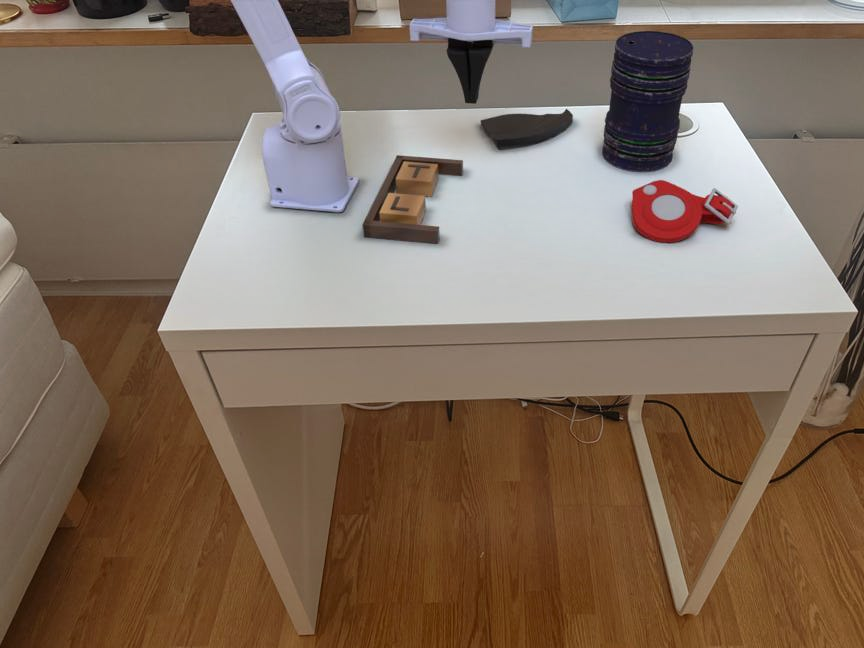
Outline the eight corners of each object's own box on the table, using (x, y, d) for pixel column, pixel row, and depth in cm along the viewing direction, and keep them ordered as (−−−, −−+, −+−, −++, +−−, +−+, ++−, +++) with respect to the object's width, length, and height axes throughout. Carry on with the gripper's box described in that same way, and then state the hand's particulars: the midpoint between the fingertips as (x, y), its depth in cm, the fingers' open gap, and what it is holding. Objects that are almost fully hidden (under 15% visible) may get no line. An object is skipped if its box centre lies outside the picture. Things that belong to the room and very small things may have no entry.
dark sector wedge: (585, 137, 106) (586, 127, 105) (495, 151, 103) (495, 140, 102) (563, 113, 112) (564, 102, 110) (478, 125, 109) (478, 114, 107)
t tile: (396, 194, 95) (395, 178, 93) (404, 176, 98) (403, 160, 96) (431, 197, 94) (430, 180, 93) (438, 178, 97) (438, 163, 96)
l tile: (380, 228, 89) (378, 211, 87) (390, 208, 92) (388, 191, 91) (417, 231, 88) (416, 215, 87) (426, 211, 92) (425, 194, 90)
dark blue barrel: (675, 142, 105) (696, 34, 94) (671, 176, 98) (693, 63, 87) (605, 134, 106) (618, 27, 96) (596, 167, 100) (609, 56, 89)
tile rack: (363, 237, 88) (362, 224, 86) (397, 167, 100) (396, 154, 98) (438, 244, 86) (437, 231, 85) (463, 172, 99) (463, 160, 97)
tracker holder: (657, 245, 84) (613, 187, 89) (653, 268, 88) (612, 211, 93) (749, 203, 85) (701, 148, 90) (741, 227, 89) (696, 173, 94)
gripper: (537, -24, 86) (532, 90, 95) (416, -29, 88) (422, 83, 97) (531, -4, 81) (525, 114, 90) (402, -10, 82) (410, 106, 92)
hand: (471, 100), depth 93 cm, fingers closed
